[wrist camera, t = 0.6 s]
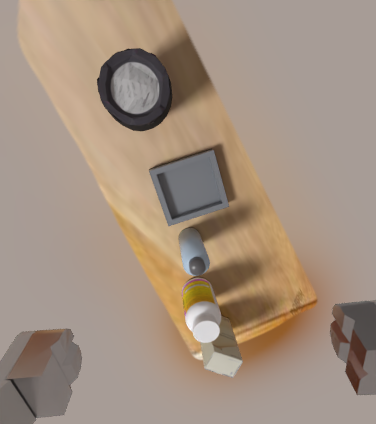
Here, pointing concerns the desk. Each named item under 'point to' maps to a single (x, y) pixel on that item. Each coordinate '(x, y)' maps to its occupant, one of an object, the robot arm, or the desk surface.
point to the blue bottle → (193, 252)
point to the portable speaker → (135, 89)
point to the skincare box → (222, 351)
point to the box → (189, 187)
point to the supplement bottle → (201, 309)
